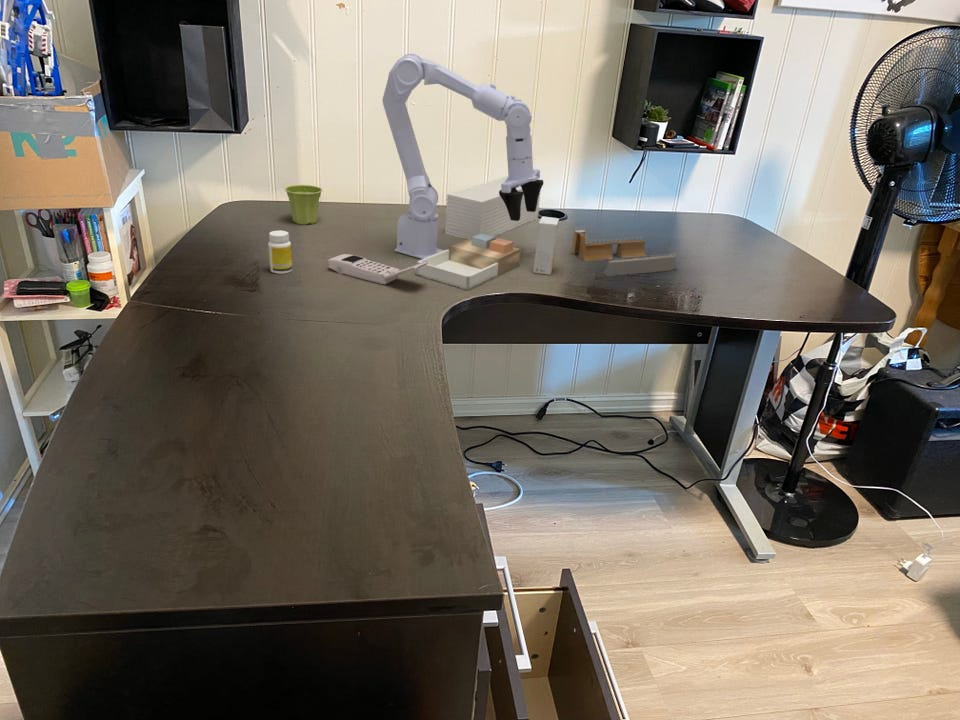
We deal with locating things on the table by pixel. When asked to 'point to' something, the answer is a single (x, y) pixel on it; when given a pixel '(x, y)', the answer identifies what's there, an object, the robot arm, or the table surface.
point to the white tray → (454, 271)
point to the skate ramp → (621, 255)
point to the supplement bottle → (280, 252)
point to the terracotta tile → (501, 245)
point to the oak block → (484, 257)
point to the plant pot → (304, 203)
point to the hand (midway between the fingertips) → (523, 215)
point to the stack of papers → (482, 211)
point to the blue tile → (482, 241)
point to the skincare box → (546, 245)
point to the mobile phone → (367, 268)
